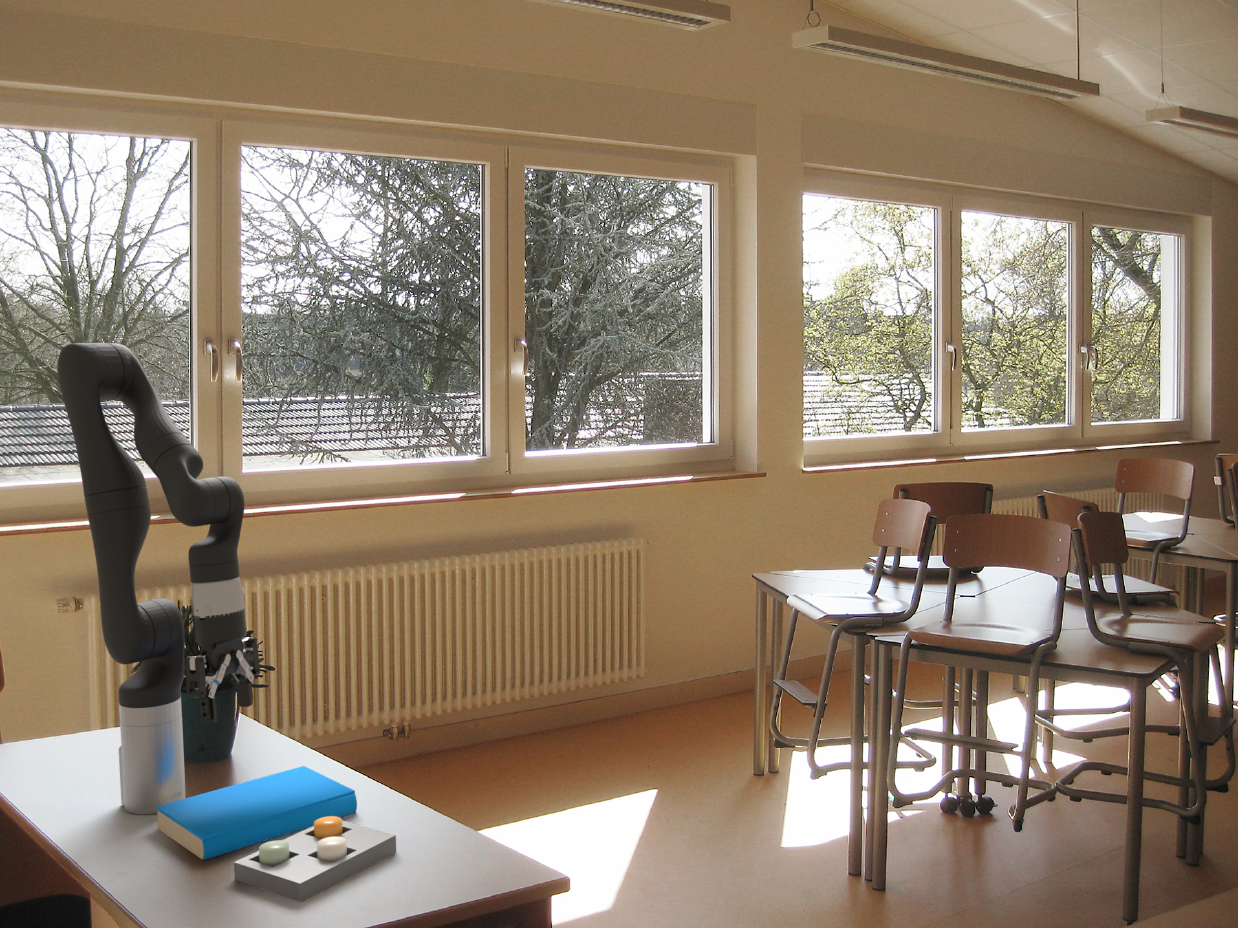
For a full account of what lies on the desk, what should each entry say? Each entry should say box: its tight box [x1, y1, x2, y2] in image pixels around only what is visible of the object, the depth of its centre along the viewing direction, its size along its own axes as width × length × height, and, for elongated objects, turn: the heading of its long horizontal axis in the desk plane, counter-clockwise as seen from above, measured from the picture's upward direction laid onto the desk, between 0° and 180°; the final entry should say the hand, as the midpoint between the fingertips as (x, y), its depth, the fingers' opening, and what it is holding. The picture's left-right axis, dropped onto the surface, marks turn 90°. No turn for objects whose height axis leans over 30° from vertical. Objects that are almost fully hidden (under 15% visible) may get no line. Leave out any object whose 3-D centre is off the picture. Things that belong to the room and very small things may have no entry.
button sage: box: [258, 839, 290, 867], centre depth 157 cm, size 4×4×2 cm
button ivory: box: [317, 837, 347, 863], centre depth 158 cm, size 4×4×2 cm
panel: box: [233, 820, 397, 902], centre depth 160 cm, size 13×18×2 cm
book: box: [156, 765, 358, 861], centre depth 177 cm, size 17×4×25 cm
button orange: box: [313, 816, 343, 839], centre depth 166 cm, size 4×4×2 cm
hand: (228, 714), depth 173 cm, fingers open, 8 cm apart
